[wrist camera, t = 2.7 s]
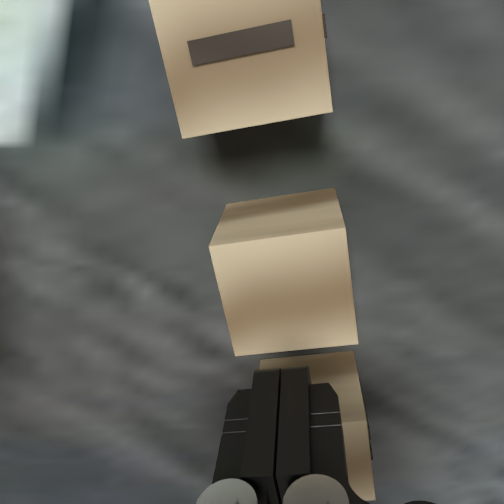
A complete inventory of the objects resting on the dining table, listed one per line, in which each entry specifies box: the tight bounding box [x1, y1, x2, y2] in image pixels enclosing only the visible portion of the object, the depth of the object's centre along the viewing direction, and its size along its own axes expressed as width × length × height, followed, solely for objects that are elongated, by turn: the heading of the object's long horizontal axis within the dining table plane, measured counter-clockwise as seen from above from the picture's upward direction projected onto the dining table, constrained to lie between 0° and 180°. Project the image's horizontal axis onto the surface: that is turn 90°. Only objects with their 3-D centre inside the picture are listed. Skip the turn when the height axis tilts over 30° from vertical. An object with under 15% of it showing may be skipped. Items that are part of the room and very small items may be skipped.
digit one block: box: [149, 0, 333, 139], centre depth 16 cm, size 5×5×5 cm
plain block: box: [209, 188, 358, 356], centre depth 20 cm, size 5×5×5 cm
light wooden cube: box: [259, 351, 375, 501], centre depth 23 cm, size 5×5×5 cm
